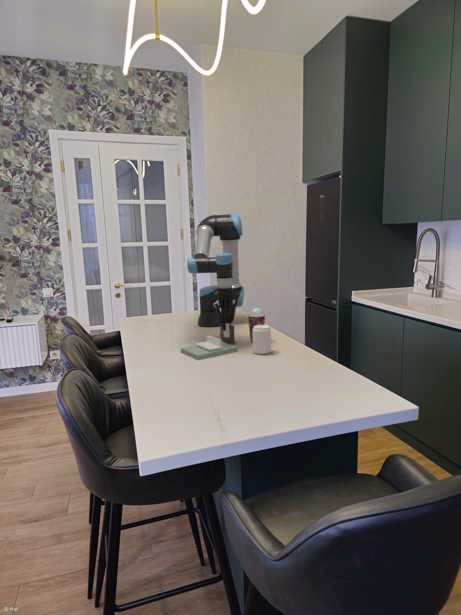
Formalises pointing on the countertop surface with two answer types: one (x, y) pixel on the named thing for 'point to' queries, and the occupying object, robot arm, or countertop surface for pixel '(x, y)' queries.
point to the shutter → (211, 344)
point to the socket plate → (202, 353)
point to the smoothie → (255, 319)
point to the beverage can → (261, 339)
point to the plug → (231, 335)
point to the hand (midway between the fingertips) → (226, 336)
